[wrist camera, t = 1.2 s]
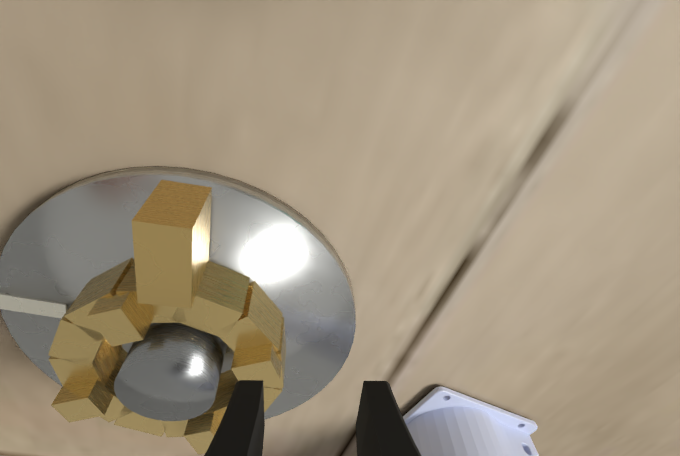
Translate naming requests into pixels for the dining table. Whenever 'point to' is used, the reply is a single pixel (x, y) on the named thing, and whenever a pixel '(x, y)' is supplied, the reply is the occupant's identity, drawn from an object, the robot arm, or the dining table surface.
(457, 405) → the robot arm
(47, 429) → the dining table surface
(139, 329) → the ring nut
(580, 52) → the dining table surface
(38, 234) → the flange
